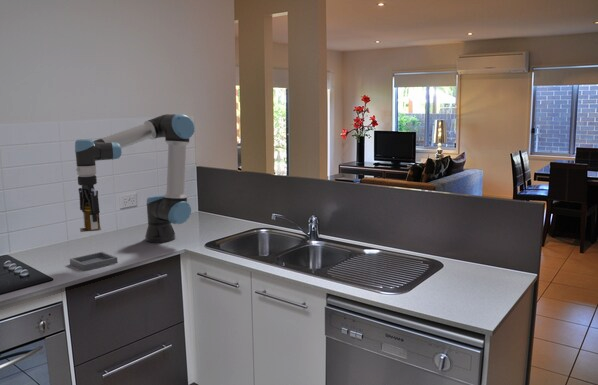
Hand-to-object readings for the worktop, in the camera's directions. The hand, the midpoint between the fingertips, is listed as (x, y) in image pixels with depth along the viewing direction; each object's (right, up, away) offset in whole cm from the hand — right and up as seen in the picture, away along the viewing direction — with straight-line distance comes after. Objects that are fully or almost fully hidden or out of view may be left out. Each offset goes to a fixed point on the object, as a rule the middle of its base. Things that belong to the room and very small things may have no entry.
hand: (91, 227), depth 222 cm
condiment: (0, -1, 0) cm, 1 cm away
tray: (0, -16, +3) cm, 16 cm away
